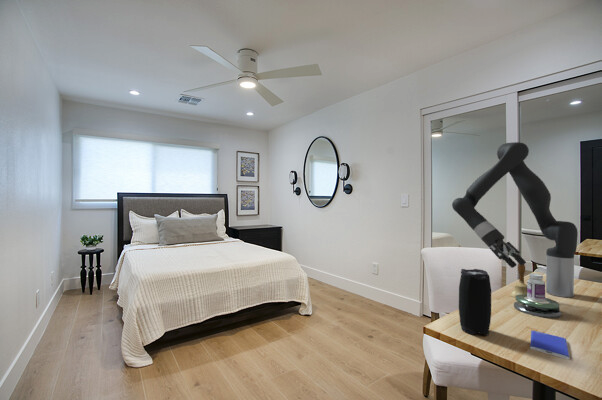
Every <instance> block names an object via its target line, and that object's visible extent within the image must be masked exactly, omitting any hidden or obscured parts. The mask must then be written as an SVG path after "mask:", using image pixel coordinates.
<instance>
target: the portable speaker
mask: <svg viewBox="0 0 602 400" xmlns="http://www.w3.org/2000/svg"><path fill="white" fill-rule="evenodd" d="M490 278H491V277H490V275H489V273H488V271H486V270H483V269H479V268H474V269H465V268H461V271H460V278H459V279H460V280H459V285H458V315H459V323H460V327H461V328H460V329H461V330H462V331H463V332H465V333H466V334H468V335H471V336H473V335H475V334H483V336H485V337H486V336H488V335H489V334H490V333H489V332H490V326H491V322H492V321H491V319H492V287H491V279H490Z"/></svg>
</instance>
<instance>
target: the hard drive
mask: <svg viewBox="0 0 602 400" xmlns="http://www.w3.org/2000/svg"><path fill="white" fill-rule="evenodd" d="M529 345H530V346H529V347H530V348H529V349H530V350H532V351H533V350H534V351H538V352H541V353H544V354H548V355H551V356H556V357H558V356H559V358H562V359H567V360H570V354H569V348H568V343H567V339H566V338H565V337H561V336H558V335H553V334H550V333H545V332H541V331H538V330H537V331H536V330H531V332H530V343H529Z"/></svg>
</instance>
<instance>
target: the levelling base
mask: <svg viewBox="0 0 602 400" xmlns="http://www.w3.org/2000/svg"><path fill="white" fill-rule="evenodd" d="M513 307H514V309H516V310H517V311H519V312H521V313H524V314H526V315H531V316H534V317H539V318H546V319H558V318H562V311H561V310H560V309H561V308H560V303H559V302H558V301H556V300H554V299H551V298H547V297H545V301H542V302H541V301H534V300H531V299H529V298H528V297H527V295H526V294H520V295H516V298H515V302H514V303H513Z"/></svg>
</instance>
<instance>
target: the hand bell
mask: <svg viewBox="0 0 602 400" xmlns="http://www.w3.org/2000/svg"><path fill="white" fill-rule="evenodd" d="M517 271H518V276H519V279H518V281H519V282H517V283H515V284H514V285H515V286H514V289H513V291H512V292H510V294H509V295H510V296H509V297H512V298H514V299H516V295H520V294H526V295H527V283H525V277H524V276H525V273H526V264H523V265H520V264H519V263H518V265H517Z"/></svg>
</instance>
